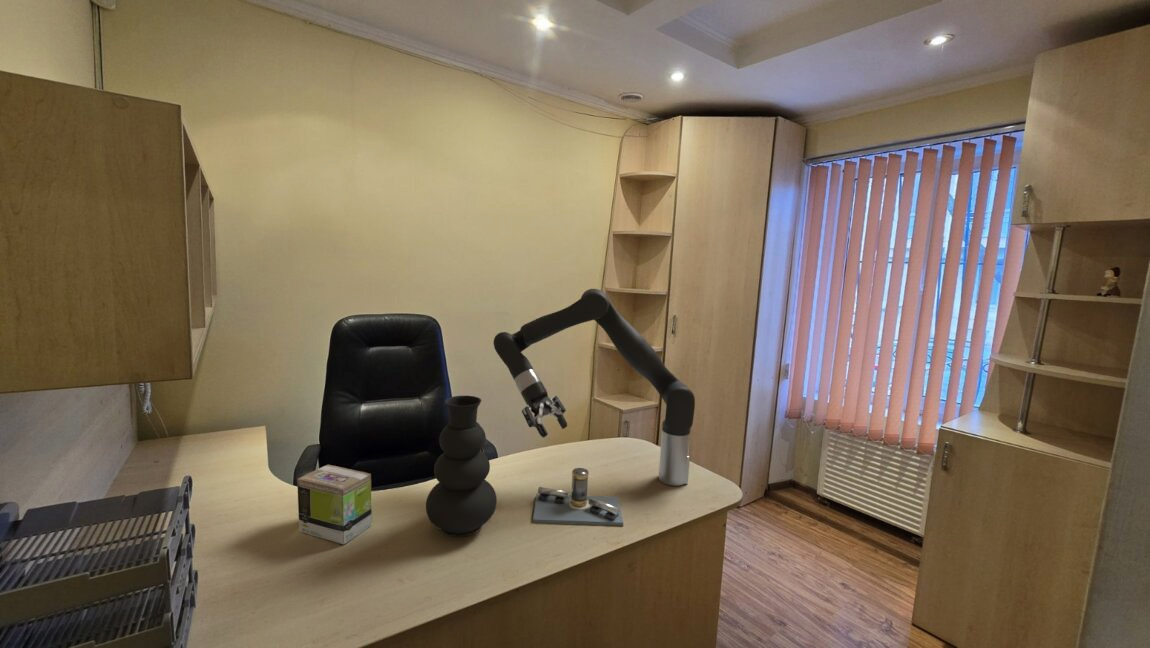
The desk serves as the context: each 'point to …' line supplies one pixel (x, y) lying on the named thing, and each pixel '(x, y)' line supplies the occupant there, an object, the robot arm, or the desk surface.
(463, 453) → the vase
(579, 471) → the banded tin drum
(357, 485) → the tea box
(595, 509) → the shaft
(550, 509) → the board
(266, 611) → the desk surface
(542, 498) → the shaft
